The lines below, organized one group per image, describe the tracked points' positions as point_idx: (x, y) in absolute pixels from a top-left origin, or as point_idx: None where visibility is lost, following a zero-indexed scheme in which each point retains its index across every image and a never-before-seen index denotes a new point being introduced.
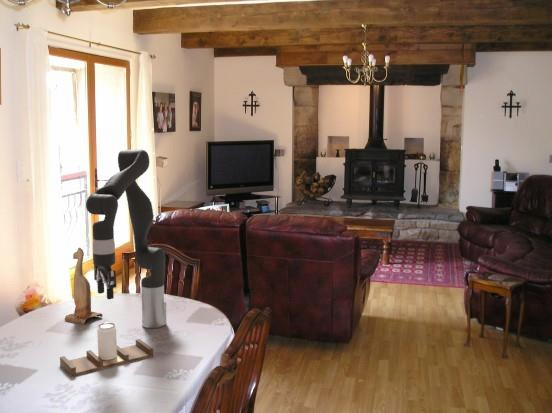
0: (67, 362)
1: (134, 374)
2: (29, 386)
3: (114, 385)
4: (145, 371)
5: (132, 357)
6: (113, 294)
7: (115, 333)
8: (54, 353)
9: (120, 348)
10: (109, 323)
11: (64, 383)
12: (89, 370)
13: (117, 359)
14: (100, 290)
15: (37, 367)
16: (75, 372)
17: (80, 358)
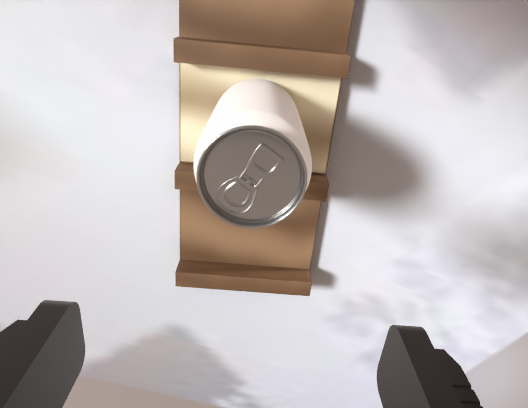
0: (246, 286)
1: (470, 99)
2: (283, 374)
3: (484, 204)
4: (486, 44)
5: (333, 22)
6: (441, 365)
7: (297, 124)
8: (52, 241)
9: (246, 47)
10: (216, 140)
11: (337, 307)
12: (315, 224)
13: (309, 97)
14: (63, 369)
15: (156, 320)
16: (309, 272)
17: (188, 206)
